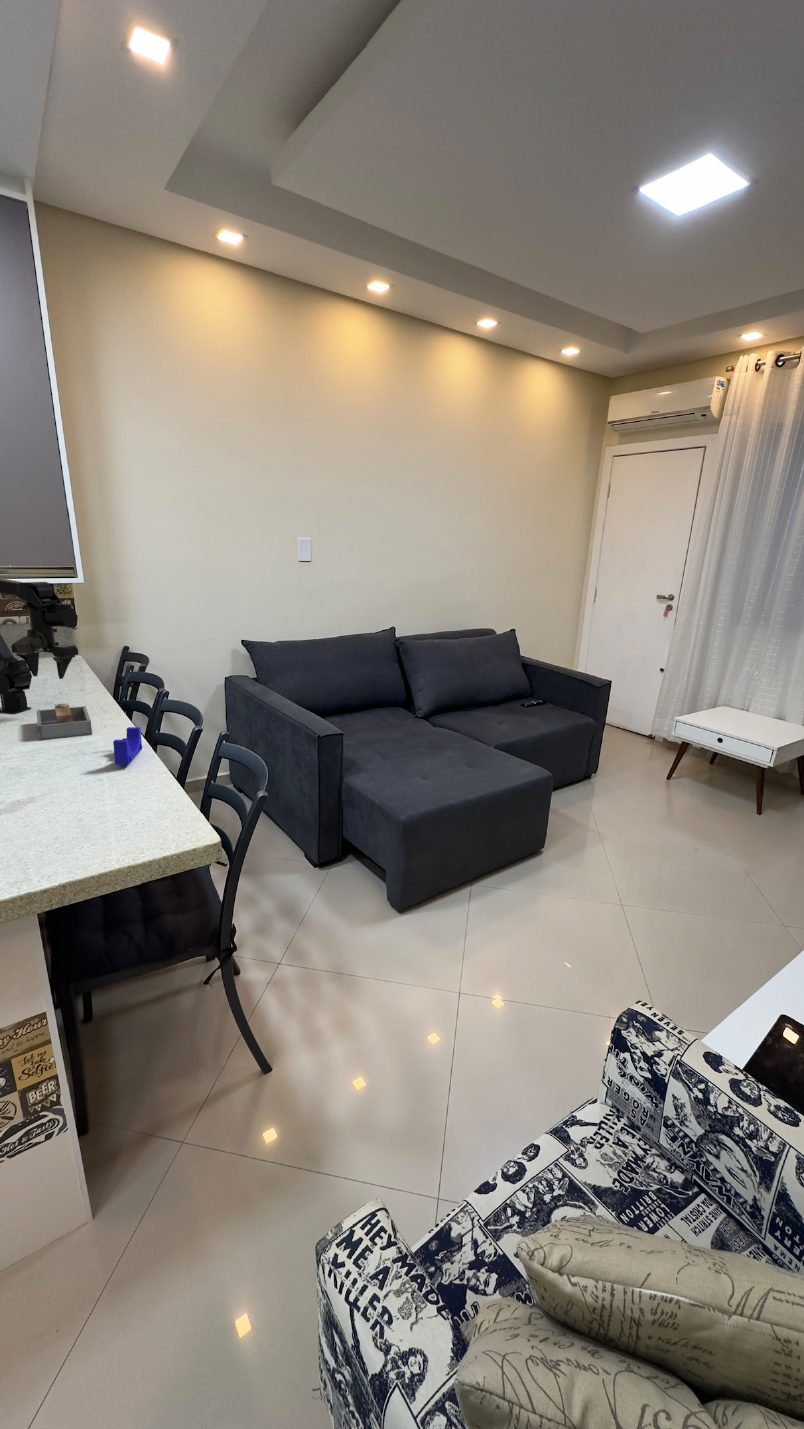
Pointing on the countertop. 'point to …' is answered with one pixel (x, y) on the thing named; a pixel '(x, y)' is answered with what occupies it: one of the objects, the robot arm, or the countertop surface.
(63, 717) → the strut
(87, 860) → the countertop surface
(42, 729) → the bin
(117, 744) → the cable clip
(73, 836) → the countertop surface
